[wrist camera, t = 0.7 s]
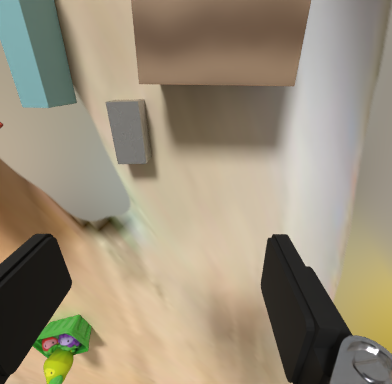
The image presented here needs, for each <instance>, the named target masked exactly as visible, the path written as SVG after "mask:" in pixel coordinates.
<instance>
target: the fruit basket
mask: <svg viewBox="0 0 392 384" xmlns="http://www.w3.org/2000/svg"><path fill="white" fill-rule="evenodd" d="M90 333H91V326H90V325H89V324H88V323H87V322H86V321H85V320H84V319H83V318H81V316H80V315H76V316H74V317H68V318H66V319H61V320H58V321H53V322H50V323H49V324H48V325H47V326H46V327H45V328H44V329H43V331H42V332H41V334H40V335H39V337H38V338H37V340H36V341H35V343H34V344H33V347H34V348H36V349H37V350H38V351H39V352H41V353H42V354H43V355H44V356H46V357H47V358H48V359H47V360H46V361H45V363H44V374H45V377H46V382H47V384H62V382H63V381H64V380H65V378H66V375H67V373H68V372H69V370H70V369H71V366H72V364H73V355H75V354H79V353H83V352H87V351H88V349H89V339H90Z"/></svg>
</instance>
